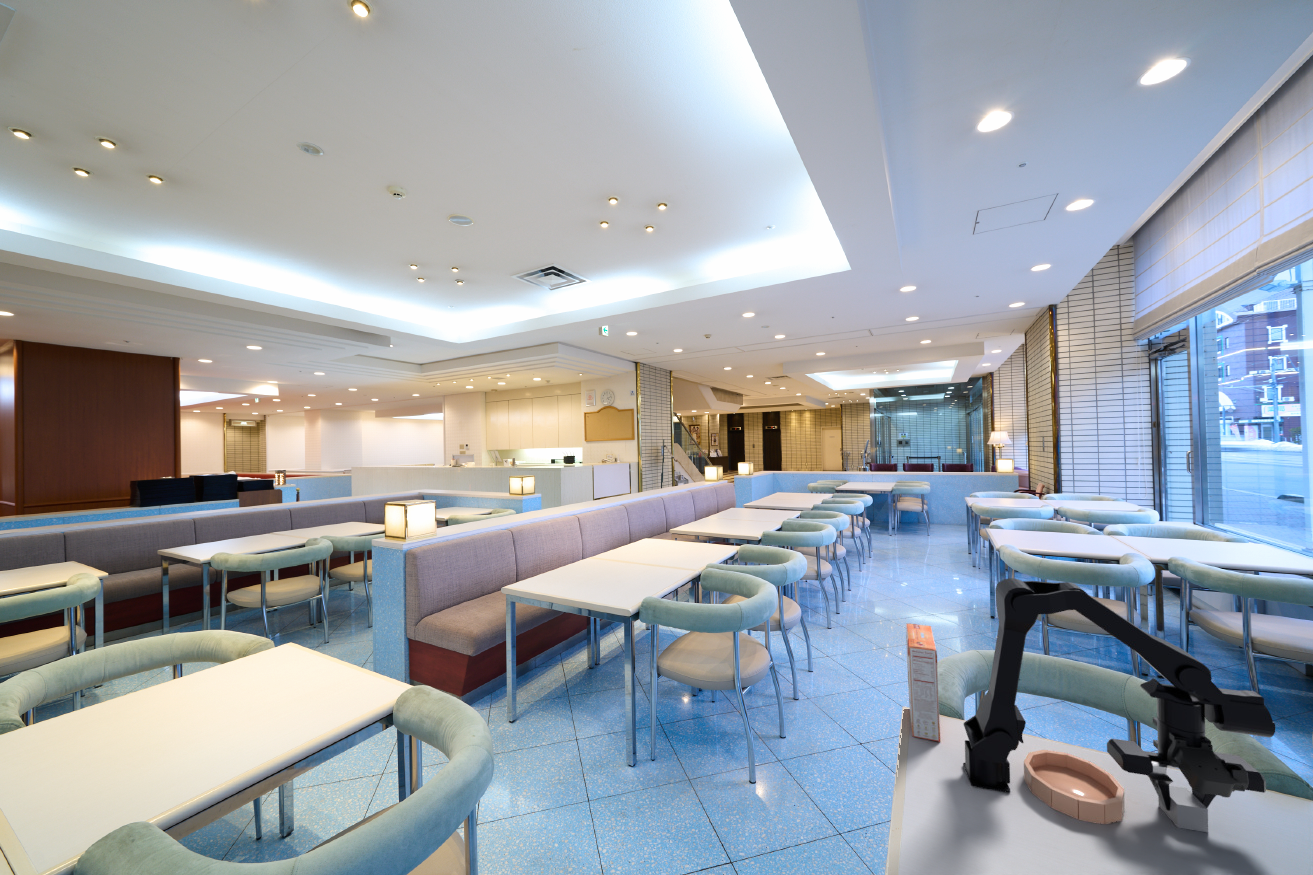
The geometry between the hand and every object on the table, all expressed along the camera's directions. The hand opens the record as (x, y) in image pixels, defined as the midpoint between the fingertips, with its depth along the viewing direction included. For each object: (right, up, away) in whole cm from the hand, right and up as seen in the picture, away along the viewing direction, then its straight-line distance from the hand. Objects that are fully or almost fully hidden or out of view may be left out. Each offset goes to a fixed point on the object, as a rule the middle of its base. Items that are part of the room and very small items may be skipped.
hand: (1182, 811), depth 85 cm
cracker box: (-29, -2, +30) cm, 42 cm away
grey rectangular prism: (0, -1, 0) cm, 1 cm away
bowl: (-13, -2, +7) cm, 15 cm away
